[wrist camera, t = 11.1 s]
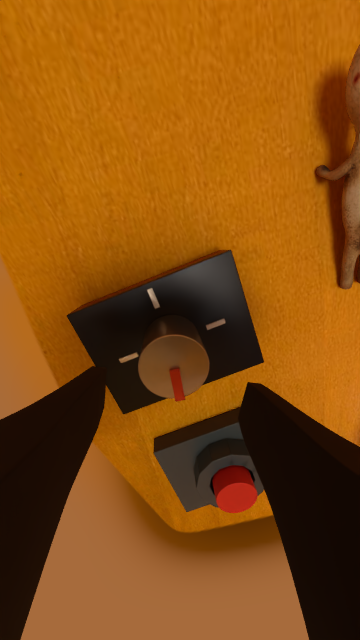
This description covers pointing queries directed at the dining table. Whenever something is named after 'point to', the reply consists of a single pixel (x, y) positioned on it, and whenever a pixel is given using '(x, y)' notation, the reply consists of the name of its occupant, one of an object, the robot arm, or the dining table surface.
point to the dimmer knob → (173, 358)
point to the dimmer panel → (170, 299)
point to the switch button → (234, 489)
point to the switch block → (203, 457)
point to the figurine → (350, 180)
